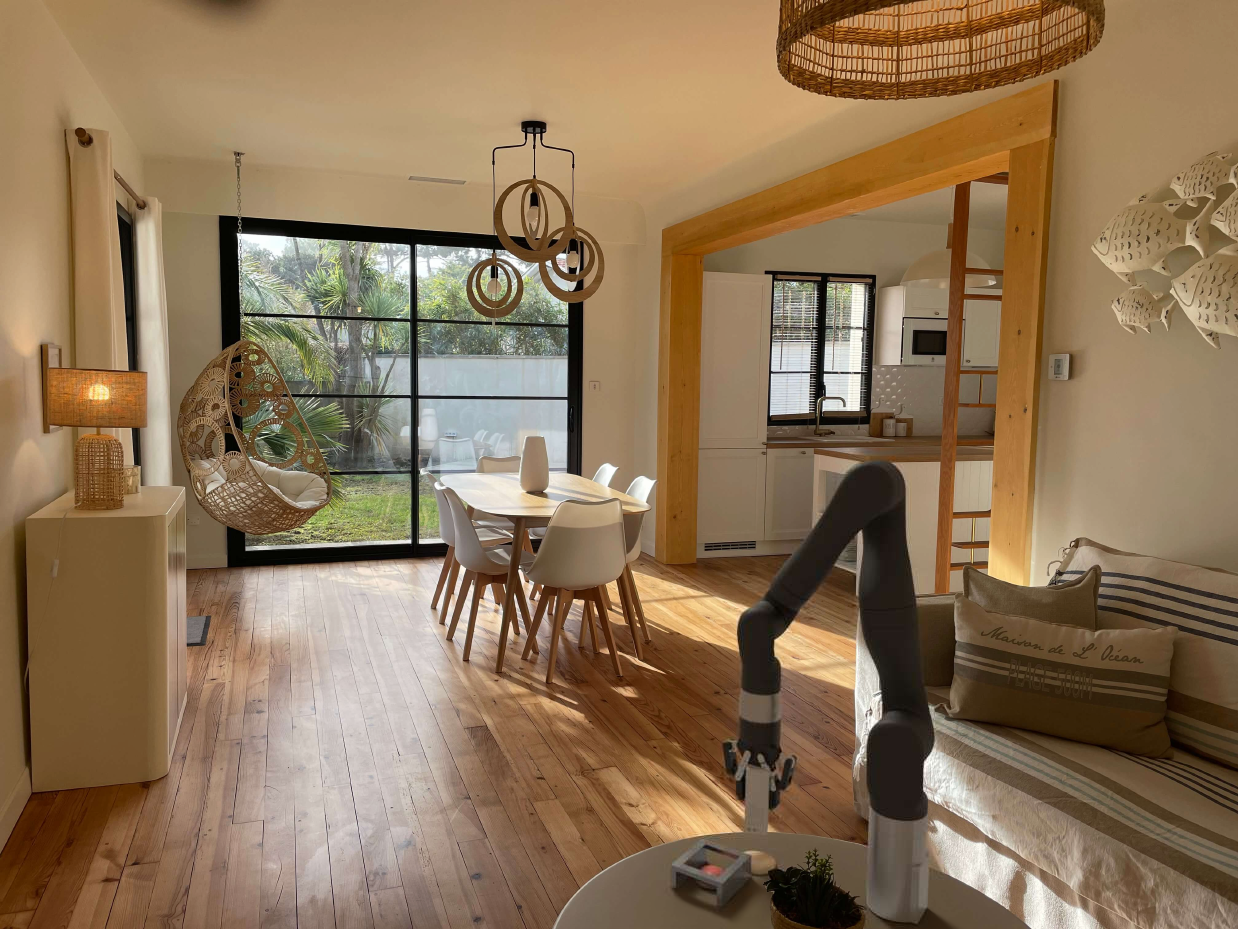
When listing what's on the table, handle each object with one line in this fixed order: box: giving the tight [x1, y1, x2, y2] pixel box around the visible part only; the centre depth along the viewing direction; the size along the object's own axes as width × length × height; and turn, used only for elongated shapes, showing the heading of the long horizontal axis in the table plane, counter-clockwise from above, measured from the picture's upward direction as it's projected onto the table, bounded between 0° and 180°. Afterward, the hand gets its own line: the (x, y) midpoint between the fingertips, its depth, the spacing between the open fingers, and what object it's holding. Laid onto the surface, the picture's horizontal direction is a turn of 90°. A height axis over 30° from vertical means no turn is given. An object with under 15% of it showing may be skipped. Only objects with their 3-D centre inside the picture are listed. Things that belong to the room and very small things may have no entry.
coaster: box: [742, 850, 777, 876], centre depth 160 cm, size 7×7×1 cm
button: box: [694, 865, 725, 890], centre depth 154 cm, size 6×6×1 cm
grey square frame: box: [670, 838, 752, 907], centre depth 154 cm, size 10×11×4 cm
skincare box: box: [743, 764, 771, 836], centre depth 159 cm, size 6×4×12 cm
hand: (757, 803), depth 159 cm, fingers closed on skincare box, 5 cm apart
